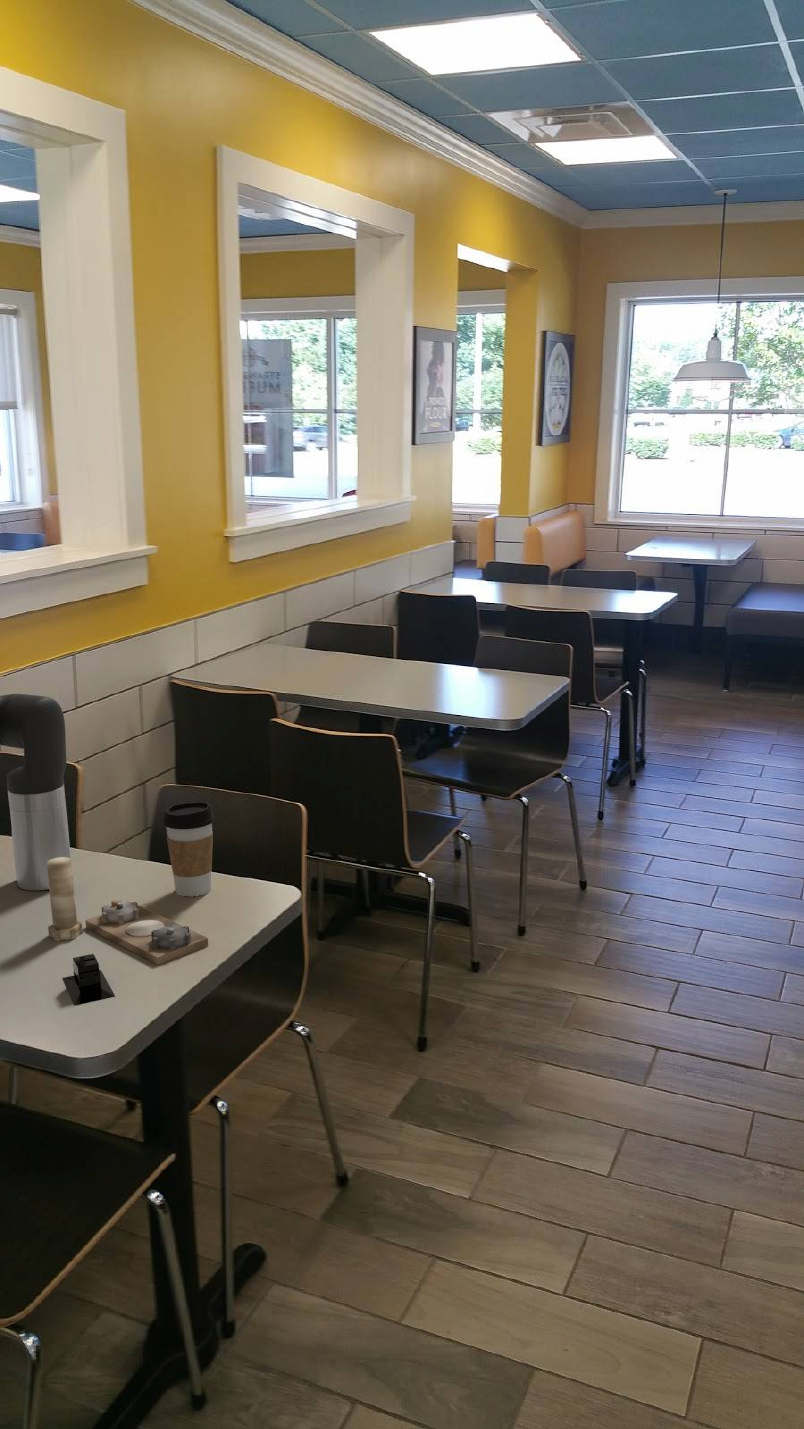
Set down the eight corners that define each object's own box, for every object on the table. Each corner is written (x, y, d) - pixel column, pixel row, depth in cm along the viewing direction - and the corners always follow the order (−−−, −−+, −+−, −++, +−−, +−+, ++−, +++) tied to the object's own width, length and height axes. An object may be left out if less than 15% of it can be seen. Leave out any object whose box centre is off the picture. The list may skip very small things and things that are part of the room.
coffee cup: (208, 901, 190) (202, 815, 186) (160, 898, 191) (154, 812, 188) (225, 882, 198) (220, 799, 194) (179, 880, 199) (173, 797, 196)
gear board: (85, 927, 180) (84, 907, 180) (135, 910, 187) (133, 891, 186) (157, 964, 167) (156, 943, 166) (208, 945, 173) (207, 925, 172)
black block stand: (123, 1003, 156) (121, 972, 155) (69, 1015, 153) (66, 984, 152) (104, 968, 167) (101, 939, 166) (53, 978, 164) (50, 949, 163)
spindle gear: (44, 934, 178) (36, 861, 175) (71, 925, 181) (64, 853, 178) (60, 943, 175) (53, 869, 172) (87, 933, 178) (81, 861, 175)
